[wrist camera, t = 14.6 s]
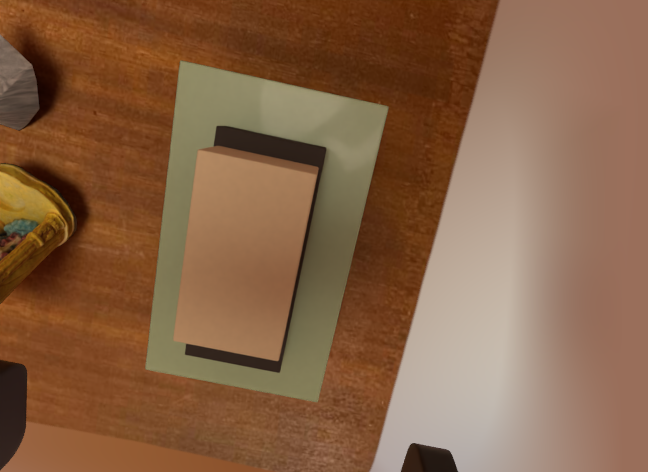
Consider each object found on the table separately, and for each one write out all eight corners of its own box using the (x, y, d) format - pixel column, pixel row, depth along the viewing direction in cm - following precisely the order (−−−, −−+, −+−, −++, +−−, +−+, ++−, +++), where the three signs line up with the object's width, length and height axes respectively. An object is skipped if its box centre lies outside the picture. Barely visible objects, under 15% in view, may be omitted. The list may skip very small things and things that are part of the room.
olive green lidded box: (223, 78, 33) (179, 59, 23) (372, 111, 33) (389, 106, 24) (191, 307, 38) (144, 369, 28) (320, 333, 39) (317, 403, 29)
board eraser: (225, 125, 24) (195, 125, 19) (326, 147, 24) (325, 153, 19) (194, 339, 28) (162, 390, 22) (283, 356, 28) (272, 410, 23)
